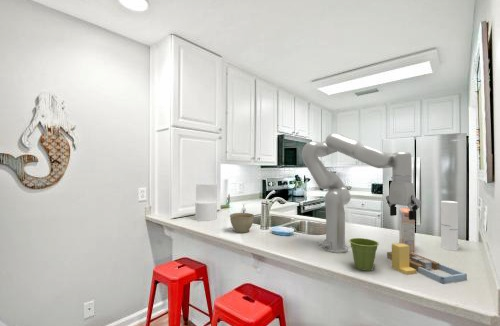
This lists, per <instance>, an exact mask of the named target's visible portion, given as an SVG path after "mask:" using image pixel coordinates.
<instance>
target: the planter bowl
mask: <svg viewBox="0 0 500 326" xmlns="http://www.w3.org/2000/svg"><path fill="white" fill-rule="evenodd" d="M229 217H230V224H231V226H232V228H233V229H234V232H236V233H241V234H242V233H248V232H249V231H250V229H251V227H252V225H253V223H254V219H255V218H254V217H255V215H254V214H253V213H250V212H249V213H248V212H235V213H231V214H230V215H229Z"/></svg>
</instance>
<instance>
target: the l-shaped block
mask: <svg viewBox="0 0 500 326" xmlns="http://www.w3.org/2000/svg"><path fill="white" fill-rule="evenodd" d="M391 252H392V260H391V268H392V269H394V270H396V271H397V272H399V273H402V274H403V275H406V276H407V275H415V274H417V273H418V272H417V270H416V269H414V268H411V267H409V246H408V245H405V244H403V243H399V242H398V243H391Z"/></svg>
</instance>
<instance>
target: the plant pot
mask: <svg viewBox="0 0 500 326" xmlns="http://www.w3.org/2000/svg"><path fill="white" fill-rule="evenodd" d="M348 243H350V248H351V251H352V258H353V262H354V267H355V268H356V269H358V270H361V271H363V270H364V271H367V272H368V271H369V272H370V271H372V270H373V269H374V265H375V258H376V253H377V249H378V246H379V245H380V243H379V242H378V241H376V240H374V239H370V238H362V237H352V238H349V240H348Z"/></svg>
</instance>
